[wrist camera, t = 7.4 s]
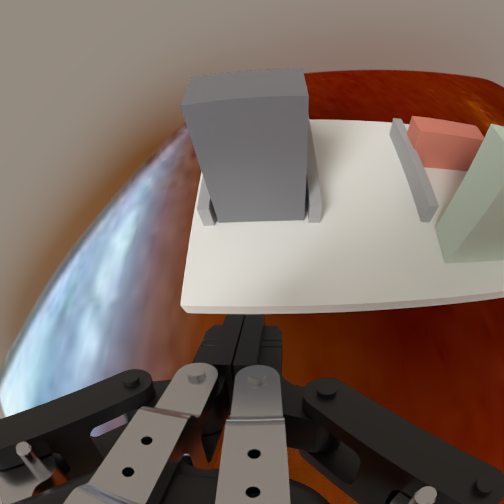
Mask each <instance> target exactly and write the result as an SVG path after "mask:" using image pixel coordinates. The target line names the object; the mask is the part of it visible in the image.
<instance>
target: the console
mask: <svg viewBox="0 0 504 504" xmlns="http://www.w3.org/2000/svg"><path fill="white" fill-rule="evenodd" d="M483 140H484V137H483V135H482V133H481V132H480V130H479V129H478V127H477V126H474V125H469V124H463V123H458V122H452V121H446V120H439V119H432V118H425V117H417V116H412V117H411V121H410V124H404V123H403V122H402V120H401V119H395V118H393V122H392V123H388V122H373V121H354V120H309V115H308V147H307V174H306V195H305V214H304V220H292V221H256V222H227V223H219V222H218V219H217V216H216V213H215V210H214V207H213V204H212V201H211V198H210V195H209V192H208V189H207V186H206V183H205V180H204V177H203V174H202V172H201V178H200V183H199V188H198V194H197V199H196V205H195V211H194V217H193V222H192V228H191V235H190V241H189V247H188V254H187V261H186V267H185V275H184V282H183V289H182V297H181V305H180V306H181V307H182V308H183V309H184V310H185V311H186V312H187V313H207V314H297V313H330V312H353V311H371V310H387V309H401V308H413V307H425V306H436V305H446V304H455V303H464V302H473V301H481V300H489V299H496V298H503V297H504V260H503V261H486V262H466V263H445V262H444V258H443V254H442V251H441V247H440V243H439V240H438V236H437V233H436V230H435V226H436V225H437V223H438V222H439V220H440V218H441V217H442V215H443V214H444V212H445V210H446V209H447V207H448V205H449V204H450V202H451V200H452V198H453V197H454V195H455V193H456V192H457V190H458V188H459V186H460V184H461V183H462V181H463V179H464V177H465V175H466V173H467V172H468V170H469V168H470V166H471V164H472V162H473V160H474V158H475V156H476V154H477V152H478V150H479V148H480V146H481V144H482V142H483Z"/></svg>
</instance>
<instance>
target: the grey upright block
mask: <svg viewBox="0 0 504 504" xmlns="http://www.w3.org/2000/svg"><path fill="white" fill-rule="evenodd" d="M308 99H309V96H308V91H307V86H306V82H305V77H304V73H303V69H302V68H292V69H266V70H249V71H238V72H227V73H218V74H210V75H203V76H196V77H192V78H191V80H190V83H189V85H188V88H187V90H186V93H185V95H184V98H183V101H182V103H181V105H180V106H181V109H182V112H183V115H184V118H185V121H186V125H187V128H188V131H189V134H190V137H191V140H192V143H193V146H194V149H195V153H196V156H197V159H198V162H199V165H200V168H201V171H202V174H203V177H204V180H205V183H206V186H207V189H208V192H209V195H210V198H211V201H212V204H213V207H214V210H215V213H216V216H217V219H218V222H219V223H227V222H256V221H292V220H304V214H305V195H306V174H307V147H308Z"/></svg>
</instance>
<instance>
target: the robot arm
mask: <svg viewBox="0 0 504 504" xmlns="http://www.w3.org/2000/svg"><path fill="white" fill-rule="evenodd" d="M121 415H124V417H125V419H126V422H127V423H126V424H124V425H122V426H120V427H118V428H115V429H113V430H111V431H109V432H107V433H105V434H102V435H100V436H97V437H92V436H90V433H91V431H92V430H93V429H94V428H95V427H97V426H99V425H101V424H104V423H106V422H108V421H110V420H112V419H115V418H117V417H119V416H121ZM228 415H231V416H230V418H228ZM222 443H223V446H222ZM221 446H222V454H221V462H220V469H214V466H215V463H216V460H217V457H218V455H219V452H220V449H221ZM287 447H291V448H295V449H299V452H300V454H301V456H302V457H303V458H304V459H305V460H306V461H308V462H309V463H310V464H311V465H312V466H313V467H314V468H316V469H317V470H318V471H319V472H320V473H321V474H323V475H324V476H325V477H326V478H327V479H329V480H330V481H331V482H332V483H333V484H335V485H336V486H337V487H338V488H340V489H341V490H342V491H343V492H345V493H346V494H347V495H348V496H350V497H351V498H352V499H354V500H355V501H356V502H358V503H359V504H498V503H499V502H500V501H501V500H502V499H503V497H504V474H503V473H502V472H501V471H500V470H499V469H498V468H496V467H494V466H492V465H490V464H488V463H486V462H484V461H482V460H480V459H478V458H476V457H474V456H472V455H470V454H468V453H466V452H464V451H462V450H460V449H458V448H456V447H454V446H452V445H450V444H448V443H446V442H445V441H443V440H441V439H439V438H437V437H435V436H433V435H432V434H430V433H428V432H426V431H424V430H423V429H421V428H419V427H417V426H415V425H414V424H412V423H410V422H408V421H407V420H405V419H403V418H401V417H400V416H398V415H396V414H394V413H393V412H391V411H389V410H388V409H386V408H384V407H383V406H381V405H379V404H378V403H376V402H374V401H373V400H371V399H369V398H368V397H366V396H364V395H363V394H361V393H359V392H358V391H356V390H355V389H353V388H351V387H350V386H348V385H346V384H345V383H343V382H341V381H339V380H337V379H332V378H321V379H316V380H313V381H311V382H310V383H308V384H307V385H306V386H305V387H301V386H297V385H294V384H291V383H289V382H288V381H286V380H285V379H284V378H283V376H282V332H281V330H280V329H279V328H278V326H265V315H264V314H246V315H245V314H227V316H226V318H225V321H224V323H223V325H214V326H213V327H212V328H210V329H209V330H208V331H207V332H206V334H205V336H204V338H203V340H202V342H201V346H200V347H199V349H198V351H197V353H196V355H195V358H194V360H193V362H192V364H188V365H186V366H184V367H182V368H180V369H179V370H178V371H177V373H176V374H175V376H174V378H173V379H171V380H164V381H155V382H153V381H152V378H151V375H150V374H149V373H148V372H146V371H143V370H139V369H132V370H127V371H124V372H121V373H119V374H117V375H114V376H112V377H110V378H107V379H105V380H103V381H100V382H98V383H95V384H93V385H90V386H88V387H86V388H83V389H81V390H78V391H76V392H73V393H71V394H68V395H65V396H63V397H60V398H58V399H55V400H53V401H50V402H47V403H45V404H42V405H39V406H37V407H34V408H31V409H28V410H26V411H23V412H20V413H17V414H14V415H11V416H9V417H6V418H3V419H0V497H1V500H2V504H330V503H329V502H328V501H327V500H326V499H325V498H324V497H322V496H321V495H320V494H319V493H318V492H316V491H315V490H313V489H312V488H310V487H308V486H306V485H304V484H302V483H300V482H297V481H294V480H291V479H289V473H288V459H287Z"/></svg>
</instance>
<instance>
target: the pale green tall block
mask: <svg viewBox="0 0 504 504" xmlns="http://www.w3.org/2000/svg"><path fill="white" fill-rule="evenodd" d="M435 230H436V233H437V236H438V240H439V243H440V247H441V251H442V254H443V258H444V262H445V263H466V262H486V261H503V260H504V127H503V126H499V125H495V124H491V125H490V127H489V129H488V131H487V134H486V136H485V138H484V140H483V142H482V144H481V146H480V148H479V150H478V152H477V154H476V156H475V158H474V160H473V162H472V164H471V166H470V168H469V170H468V172H467V173H466V175H465V177H464V179H463V181H462V183H461V184H460V186H459V188H458V190H457V192H456V193H455V195H454V197H453V198H452V200H451V202H450V204H449V205H448V207H447V209H446V210H445V212H444V214H443V215H442V217H441V218H440V220H439V222H438V223H437V225H436V226H435Z"/></svg>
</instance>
